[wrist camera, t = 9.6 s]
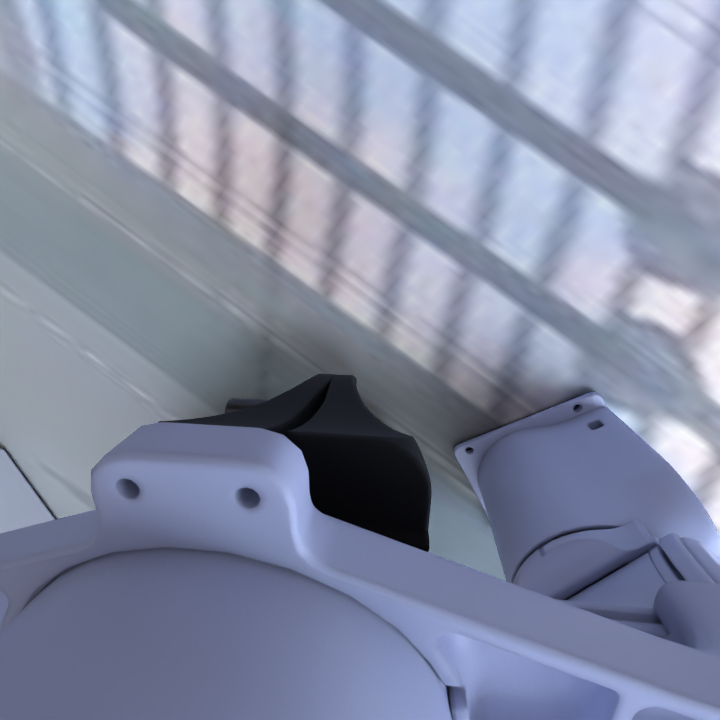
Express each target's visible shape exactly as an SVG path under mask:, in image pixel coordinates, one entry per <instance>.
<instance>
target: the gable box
mask: <svg viewBox="0 0 720 720" xmlns="http://www.w3.org/2000/svg"><path fill="white" fill-rule="evenodd" d="M52 520H55V518H54V517H53V516H52V514H51V513H50V511H49V510H48V509H47V507H46V506H45V505H44V503H43V502H42V501H41V499H40V498H39V496H38V495H37V494H36V492H35V491H34V490H33V488H32V487H31V486H30V484H29V483H28V481H27V480H26V479H25V477H24V476H23V475H22V473H21V472H20V470H19V469H18V468H17V466H16V465H15V464H14V462H13V461H12V460H11V458H10V457H9V455H8V454H7V453H6V451H5V450H4V449H1V448H0V533H4V532H8V531H12V530H16V529H20V528H24V527H28V526H32V525H36V524H40V523H44V522H48V521H52Z"/></svg>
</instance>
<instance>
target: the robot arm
mask: <svg viewBox="0 0 720 720" xmlns="http://www.w3.org/2000/svg"><path fill="white" fill-rule="evenodd" d="M578 404H579V407H578V408H577V409H573V407H574V406H575V405H578ZM467 447H471V448H472V449H471V450H470V451H467V450H465V449H466V448H467ZM454 454H455V457H456V459H457V460H458V462H459V464H460V466H461V468H462V470H463V471H464V473H465V475H466V477H467V479H468V481H469V482H470V484H471V486H472V488H473V490H474V492H475V493H476V495H477V497H478V499H479V501H480V502H481V504H482V506H483V508H484V510H485V512H486V513H487V515H488V519H489V522H490V526H491V529H492V532H493V536H494V539H495V543H496V546H497V550H498V553H499V557H500V560H501V564H502V567H503V571H504V574H505V578H506V581H504V580H502V579H499V578H496V577H493V576H491V575H488V574H485V573H483V572H480V571H477V570H474V569H472V568H469V567H466V566H464V565H461V564H458V563H456V562H453V561H450V560H447V559H445V558H442V557H439V556H437V555H434V554H431V553H428V551H429V535H428V525H429V515H430V504H431V482H430V477H429V473H428V470H427V467H426V464H425V461H424V458H423V456H422V453H421V451H420V449H419V447H418V445H417V442H416V440H415V439H414V437H412V436H409V435H406V434H403V433H400V432H397V431H395V430H393V429H391V428H389V427H388V426H386V425H384V424H383V423H381V422H380V421H379V420H378V419H376V418H375V417H374V416H373V415H372V414H371V413H370V412H369V410H368V409H367V407H366V406H365V404H364V403H363V401H362V399H361V397H360V395H359V393H358V391H357V388H356V378H355V377H354V376H353V375H335V374H318V375H315V376H314V377H312V378H310V379H308V380H307V381H305V382H303V383H301V384H300V385H298V386H296V387H294V388H293V389H291V390H289V391H287V392H285V393H283V394H281V395H279V396H277V397H275V398H273V399H270V400H268V401H266V402H263V403H260V404H258V405H255V406H252V407H249V408H245V409H242V410H238V411H234V412H230V413H226V414H222V415H216V416H211V417H204V418H197V419H188V420H175V421H159V422H158V423H154V424H149V425H144V426H141V427H139V428H138V429H137V430H136V431H134V432H133V433H132V434H131V435H129V436H128V437H127V438H126V439H125V440H123V441H122V442H121V443H120V444H118V445H117V446H116V447H115V448H113V449H112V450H111V451H110V452H108V453H107V454H106V455H105V456H104V457H103V458H102V459H101V460H100V461H99V462H98V463H97V464H96V466H95V467H94V468H93V469H92V470H91V492H92V496H93V500H94V503H95V506H96V510H92V511H88V512H84V513H80V514H76V515H72V516H68V517H64V518H60V519H56V520H52V521H48V522H44V523H40V524H36V525H32V526H28V527H24V528H20V529H16V530H12V531H8V532H4V533H0V720H720V535H719V533H718V531H717V529H716V527H715V525H714V523H713V522H712V520H711V518H710V516H709V515H708V513H707V511H706V510H705V508H704V507H703V505H702V504H701V502H700V501H699V500H698V498H697V497H696V495H695V494H694V493H693V491H692V490H691V489H690V488H689V486H688V485H687V484H686V483H685V481H684V480H683V479H682V478H681V476H680V475H679V474H678V473H677V472H676V471H675V470H674V468H673V467H672V466H671V465H670V464H669V463H668V462H667V461H666V460H665V459H664V458H663V457H662V456H660V455H659V454H658V453H657V452H656V451H655V450H654V449H653V448H652V447H650V446H649V445H648V444H647V443H646V442H645V441H644V440H643V439H642V438H640V437H639V436H638V435H637V434H636V433H635V432H634V431H633V430H632V429H630V428H629V427H628V426H627V425H626V424H625V423H624V422H623V421H621V420H620V419H619V418H618V417H617V416H616V415H615V414H614V413H613V412H611V411H610V410H609V409H608V408H607V407H606V405H605V403H604V400H603V398H602V397H601V395H599V394H598V393H596V392H590V393H587V394H584V395H582V396H579V397H577V398H574V399H572V400H569V401H567V402H564V403H562V404H559V405H557V406H554V407H552V408H549V409H547V410H544V411H542V412H539V413H537V414H534V415H532V416H529V417H526V418H524V419H521V420H519V421H516V422H514V423H511V424H509V425H506V426H504V427H501V428H499V429H496V430H494V431H491V432H489V433H486V434H484V435H481V436H479V437H476V438H474V439H471V440H468V441H466V442H463V443H461V444H458V445H457V446H455V448H454Z"/></svg>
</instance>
